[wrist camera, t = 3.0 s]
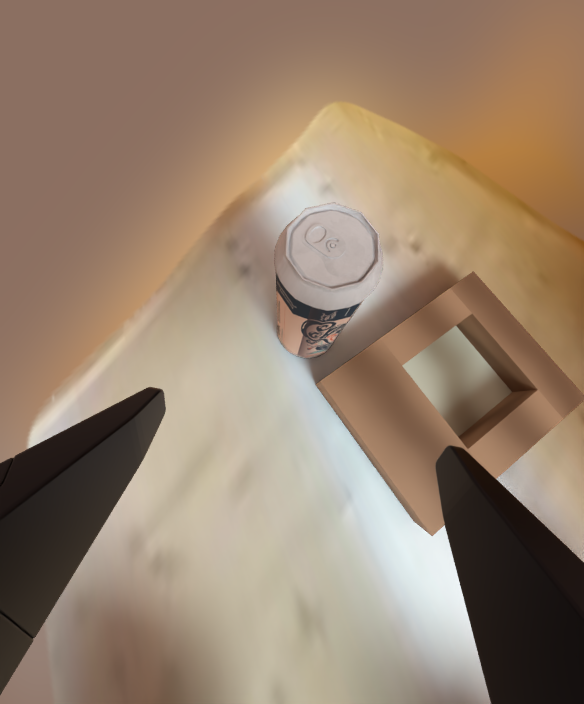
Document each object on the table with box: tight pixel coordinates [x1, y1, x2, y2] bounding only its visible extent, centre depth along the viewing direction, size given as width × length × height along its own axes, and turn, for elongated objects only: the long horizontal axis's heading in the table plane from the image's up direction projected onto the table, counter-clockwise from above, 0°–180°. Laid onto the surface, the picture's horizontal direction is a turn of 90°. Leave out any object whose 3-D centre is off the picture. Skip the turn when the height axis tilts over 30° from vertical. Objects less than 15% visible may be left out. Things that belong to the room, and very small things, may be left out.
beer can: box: [274, 202, 383, 358], centre depth 17 cm, size 5×5×12 cm
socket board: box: [316, 271, 584, 536], centre depth 21 cm, size 15×12×2 cm
